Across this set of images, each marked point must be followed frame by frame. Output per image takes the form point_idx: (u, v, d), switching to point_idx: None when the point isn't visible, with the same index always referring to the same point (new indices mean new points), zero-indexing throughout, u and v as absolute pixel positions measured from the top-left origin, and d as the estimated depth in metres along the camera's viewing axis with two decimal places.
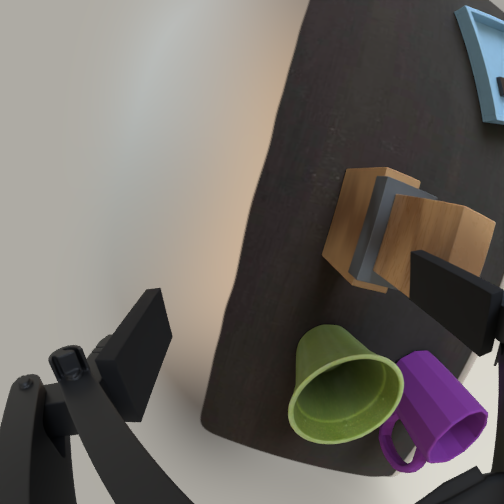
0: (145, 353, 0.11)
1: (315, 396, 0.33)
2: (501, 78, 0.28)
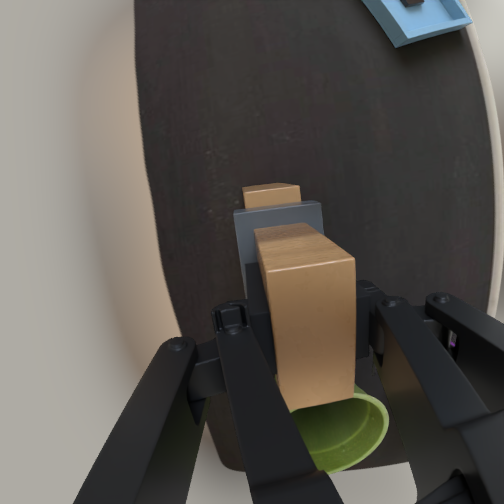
0: None
1: (308, 425, 0.30)
2: None
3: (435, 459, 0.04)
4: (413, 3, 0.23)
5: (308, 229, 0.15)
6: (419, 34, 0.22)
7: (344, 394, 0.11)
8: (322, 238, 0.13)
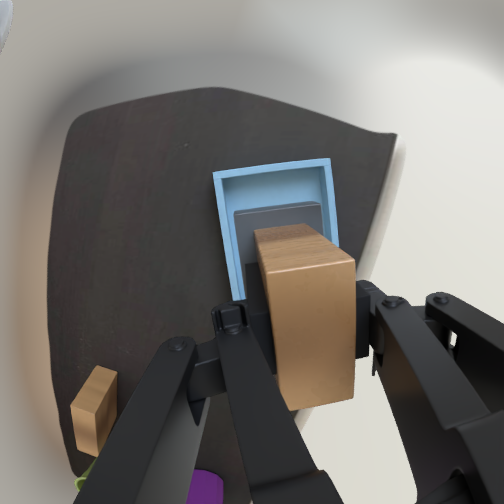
0: None
1: None
2: None
3: (435, 460, 0.04)
4: None
5: (308, 230, 0.15)
6: None
7: (343, 395, 0.11)
8: (322, 239, 0.13)
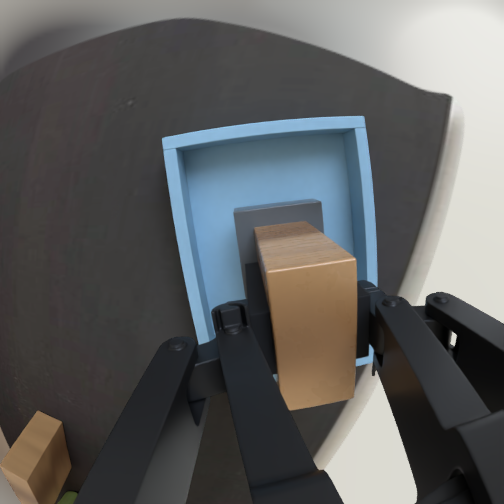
0: None
1: None
2: None
3: (434, 459, 0.04)
4: None
5: (309, 228, 0.15)
6: None
7: (344, 394, 0.11)
8: (323, 237, 0.13)
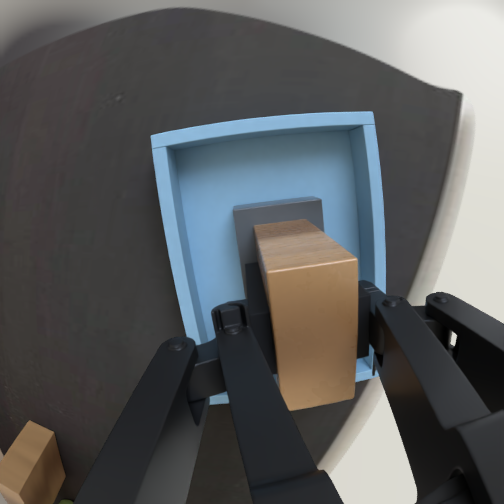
0: None
1: None
2: None
3: (435, 459, 0.04)
4: None
5: (309, 226, 0.15)
6: None
7: (344, 394, 0.11)
8: (323, 236, 0.13)
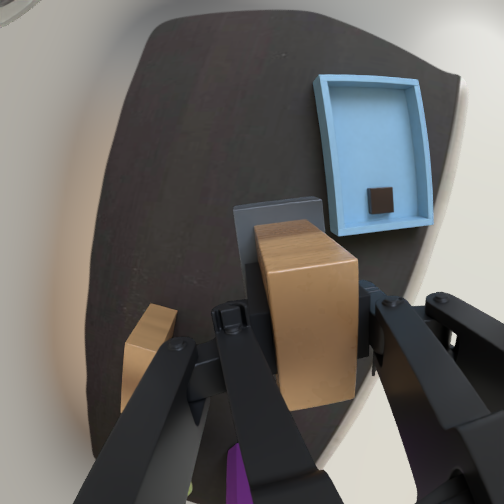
0: None
1: None
2: (372, 190, 0.33)
3: (435, 459, 0.04)
4: (378, 213, 0.34)
5: (309, 226, 0.15)
6: (354, 233, 0.33)
7: (344, 395, 0.11)
8: (324, 237, 0.13)
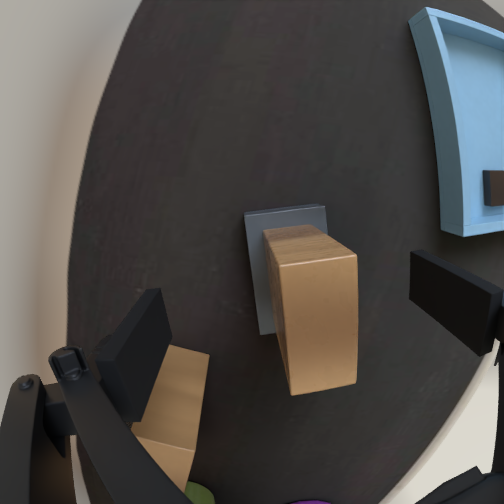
0: (145, 353, 0.11)
1: None
2: (492, 173, 0.19)
3: None
4: (497, 205, 0.19)
5: (314, 230, 0.17)
6: (480, 232, 0.18)
7: (347, 379, 0.12)
8: (327, 238, 0.14)
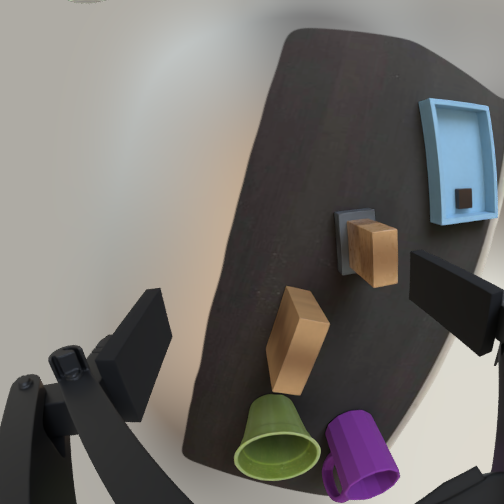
0: (145, 353, 0.11)
1: (262, 444, 0.42)
2: (460, 191, 0.38)
3: None
4: (462, 208, 0.38)
5: (373, 221, 0.35)
6: (451, 223, 0.37)
7: (394, 281, 0.31)
8: (381, 224, 0.33)
